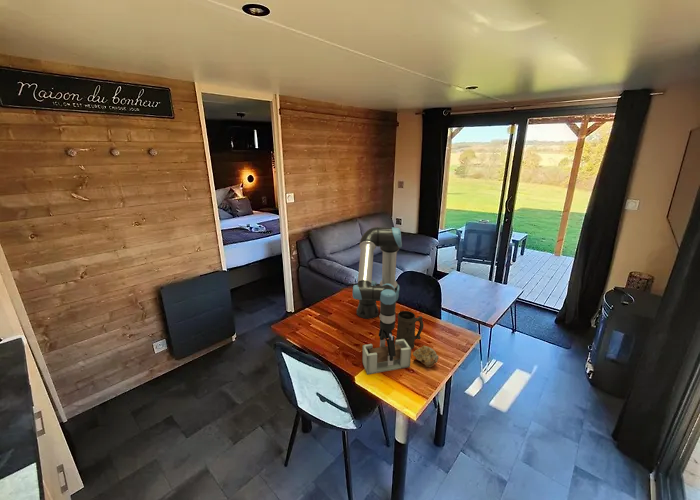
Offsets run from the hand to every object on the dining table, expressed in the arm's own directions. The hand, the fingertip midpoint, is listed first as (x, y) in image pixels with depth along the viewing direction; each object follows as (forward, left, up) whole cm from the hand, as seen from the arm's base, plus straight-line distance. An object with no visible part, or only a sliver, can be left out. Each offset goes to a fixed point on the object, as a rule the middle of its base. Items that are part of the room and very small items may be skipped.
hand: (386, 357), depth 155 cm
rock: (+4, +20, -5) cm, 21 cm away
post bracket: (0, 0, -5) cm, 5 cm away
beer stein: (-14, +19, -5) cm, 24 cm away
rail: (0, 0, -1) cm, 1 cm away
